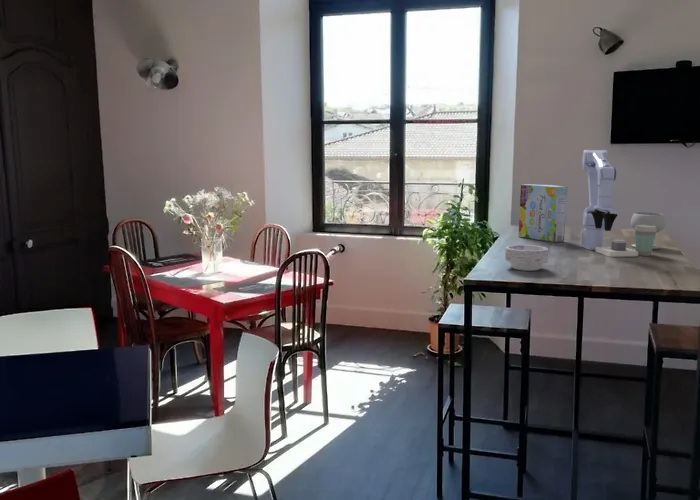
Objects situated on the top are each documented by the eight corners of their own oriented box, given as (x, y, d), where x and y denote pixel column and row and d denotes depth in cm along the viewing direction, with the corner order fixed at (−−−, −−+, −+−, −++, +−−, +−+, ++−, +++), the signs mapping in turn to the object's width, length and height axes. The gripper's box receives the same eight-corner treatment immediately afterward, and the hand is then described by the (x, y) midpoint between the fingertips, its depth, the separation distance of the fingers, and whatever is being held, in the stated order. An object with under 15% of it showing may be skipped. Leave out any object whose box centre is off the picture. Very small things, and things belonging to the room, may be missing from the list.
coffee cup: (657, 256, 263) (659, 227, 261) (634, 255, 265) (637, 226, 263) (651, 253, 271) (654, 224, 269) (630, 252, 273) (632, 224, 271)
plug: (610, 253, 270) (612, 239, 269) (619, 253, 270) (621, 239, 269) (616, 255, 266) (617, 241, 265) (625, 255, 266) (626, 240, 265)
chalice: (625, 244, 294) (628, 211, 292) (658, 245, 292) (661, 212, 289) (632, 249, 281) (635, 214, 278) (667, 250, 278) (670, 215, 276)
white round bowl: (515, 263, 248) (516, 242, 247) (554, 268, 238) (555, 247, 237) (497, 269, 236) (498, 247, 235) (537, 274, 227) (538, 252, 226)
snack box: (565, 241, 302) (569, 186, 297) (553, 243, 297) (556, 186, 293) (528, 235, 319) (531, 183, 315) (516, 236, 315) (519, 183, 310)
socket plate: (595, 251, 275) (595, 246, 274) (622, 251, 276) (622, 246, 276) (610, 256, 263) (610, 251, 262) (637, 256, 264) (638, 250, 264)
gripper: (587, 195, 270) (585, 227, 273) (605, 197, 256) (602, 231, 258) (603, 195, 271) (601, 227, 273) (621, 197, 257) (619, 231, 259)
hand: (602, 229), depth 266 cm, fingers open, 7 cm apart
